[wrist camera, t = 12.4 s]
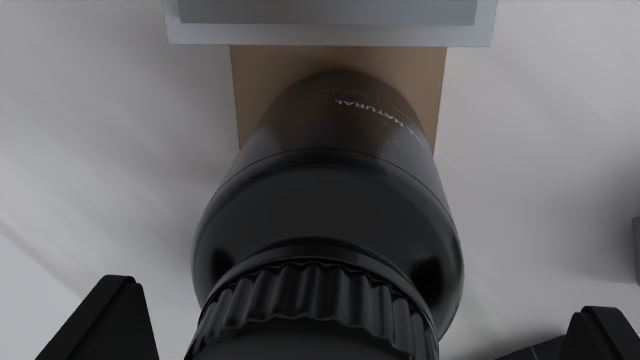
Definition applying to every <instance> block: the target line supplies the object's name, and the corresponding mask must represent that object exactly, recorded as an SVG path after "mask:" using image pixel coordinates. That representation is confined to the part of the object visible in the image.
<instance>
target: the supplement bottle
mask: <svg viewBox="0 0 640 360" xmlns="http://www.w3.org/2000/svg"><path fill="white" fill-rule="evenodd" d="M191 273H192V281H193V286H194V290H195V294H196V297H197V300H198V303H199V306H200V308H201V310H202V312H201V314H200V317H199V321H198V326H197V330H196V333H195V335H194V337H193V339H192V342H191V344H190V346H189V348H188V351H187V353H186V355H185V358H184V360H439V345H438V342H439V341H440V340H441V339H442V337H443V336H444V334H445V333H446V331H447V330H448V328H449V327H450V325H451V323H452V321H453V319H454V317H455V315H456V312H457V310H458V307H459V304H460V301H461V297H462V293H463V286H464V261H463V254H462V249H461V245H460V241H459V237H458V234H457V230H456V227H455V224H454V221H453V218H452V214H451V211H450V208H449V205H448V202H447V199H446V196H445V193H444V190H443V187H442V184H441V181H440V178H439V174H438V171H437V168H436V165H435V162H434V159H433V156H432V153H431V150H430V147H429V144H428V141H427V138H426V135H425V132H424V130H423V127H422V125H421V122H420V120H419V118H418V116H417V114H416V112H415V111H414V109H413V108H412V106H411V105H410V104H409V102H408V101H407V100H406V99H405V98H404V97H403V96H402V95H401V94H400V93H399V92H398V91H397V90H395V89H394V88H393V87H391V86H390V85H388V84H387V83H385V82H383V81H381V80H379V79H377V78H375V77H372V76H369V75H366V74H362V73H358V72H352V71H328V72H322V73H318V74H314V75H311V76H308V77H305V78H303V79H301V80H299V81H297V82H296V83H294V84H292V85H291V86H289V87H288V88H287V89H285V90H284V91H283V92H282V93H281V94H280V95H279V96H278V97H277V98H276V99H275V100H274V101H273V102H272V103H271V105H270V106H269V108H268V109H267V110H266V112H265V113H264V115H263V116H262V118H261V119H260V121H259V123H258V124H257V126H256V127H255V129H254V131H253V132H252V134H251V135H250V137H249V139H248V140H247V142H246V144H245V145H244V147H243V148H242V150H241V152H240V153H239V155H238V157H237V158H236V160H235V161H234V163H233V165H232V166H231V168H230V170H229V171H228V173H227V174H226V176H225V178H224V179H223V181H222V183H221V184H220V186H219V187H218V189H217V191H216V192H215V194H214V196H213V197H212V199H211V201H210V202H209V204H208V206H207V208H206V210H205V212H204V214H203V216H202V218H201V220H200V222H199V224H198V227H197V229H196V232H195V236H194V240H193V245H192V252H191Z"/></svg>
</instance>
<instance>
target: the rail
mask: <svg viewBox="0 0 640 360" xmlns="http://www.w3.org/2000/svg"><path fill="white" fill-rule="evenodd" d="M161 1H162V7H163V14H164V20H165V26H166V33H167V39H168V44H230V52H231V62H232V73H233V84H234V94H235V105H236V115H237V126H238V136H239V147H240V152H241V150H242V148H243V147H244V145H245V144H246V142H247V140H248V139H249V137H250V135H251V134H252V132H253V131H254V129H255V127H256V126H257V124H258V123H259V121H260V119H261V118H262V116H263V115H264V113H265V112H266V110H267V109H268V108H269V106H270V105H271V103H272V102H273V101H274V100H275V99H276V98H277V97H278V96H279V95H280V94H281V93H282V92H283V91H284V90H285V89H287V88H288V87H289V86H291V85H292V84H294V83H296V82H297V81H299V80H301V79H303V78H305V77H308V76H311V75H314V74H318V73H322V72H328V71H352V72H358V73H362V74H366V75H369V76H372V77H375V78H377V79H379V80H381V81H383V82H385V83H387V84H388V85H390V86H391V87H393V88H394V89H395V90H397V91H398V92H399V93H400V94H401V95H402V96H403V97H404V98H405V99H406V100H407V101H408V102H409V104H410V105H411V106H412V108H413V109H414V111H415V112H416V114H417V116H418V118H419V120H420V122H421V125H422V127H423V130H424V132H425V135H426V138H427V141H428V144H429V147H430V150H431V153H432V156H433V154H434V146H435V138H436V130H437V122H438V114H439V106H440V98H441V90H442V82H443V74H444V66H445V58H446V50H447V47H490V44H491V38H492V32H493V26H494V20H495V14H496V8H497V2H498V0H161Z"/></svg>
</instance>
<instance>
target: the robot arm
mask: <svg viewBox="0 0 640 360" xmlns="http://www.w3.org/2000/svg"><path fill="white" fill-rule="evenodd" d="M35 360H159V356H158V352H157V347H156V343H155V339H154V334H153V330H152V326H151V322H150V317H149V313H148V309H147V304H146V300H145V296H144V291H143V288H142V285H141V284H140V283H136V281H135V279H134V278H133V277H132V276H121V275H105V276H104V277H102V278H101V279H100V281H99V282H98V283H97V284H96V286H95V287H94V288H93V289H92V290H91V292H90V293H89V294H88V295H87V297H86V298H85V299H84V300H83V301H82V303H81V304H80V305H79V306H78V308H77V309H76V310H75V311H74V313H73V314H72V315H71V316H70V317H69V319H68V320H67V321H66V322H65V324H64V325H63V326H62V327H61V329H60V330H59V331H58V332H57V333H56V335H55V336H54V337H53V338H52V339H51V341H49V343H48V344H47V345H46V346H45V348H44V349H43V350H42V351H41V352H40V354H39V355H38V356H37V357H36V359H35ZM558 360H640V338H639V337H638V335H637V334H636V332H635V331H634V329H633V328H632V327H631V325H630V324H629V322H628V321H627V319H626V318H625V316H624V315H623V313H622V312H621V311H620V310H619V309H617V308H615V307H599V306H584V307H583V308H582V310H581V312H575V313H574V314H573V316H572V318H571V321H570V324H569V327H568V330H567V333H566V336H565V339H564V342H563V345H562V348H561V351H560V354H559V357H558Z"/></svg>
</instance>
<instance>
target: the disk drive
mask: <svg viewBox="0 0 640 360" xmlns="http://www.w3.org/2000/svg"><path fill="white" fill-rule="evenodd" d="M565 336H566V335H563V336H560V337H558V338H555V339H552V340H549V341H546V342H543V343H541V344H538V345H535V346H532V347H527V348H524V349H522V350H519V351H515V352H513V353H511V354H509V355H507V356H504V357H501V358H498V359H495V360H558V357H559V354H560V351H561V348H562V345H563V342H564V339H565Z"/></svg>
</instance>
